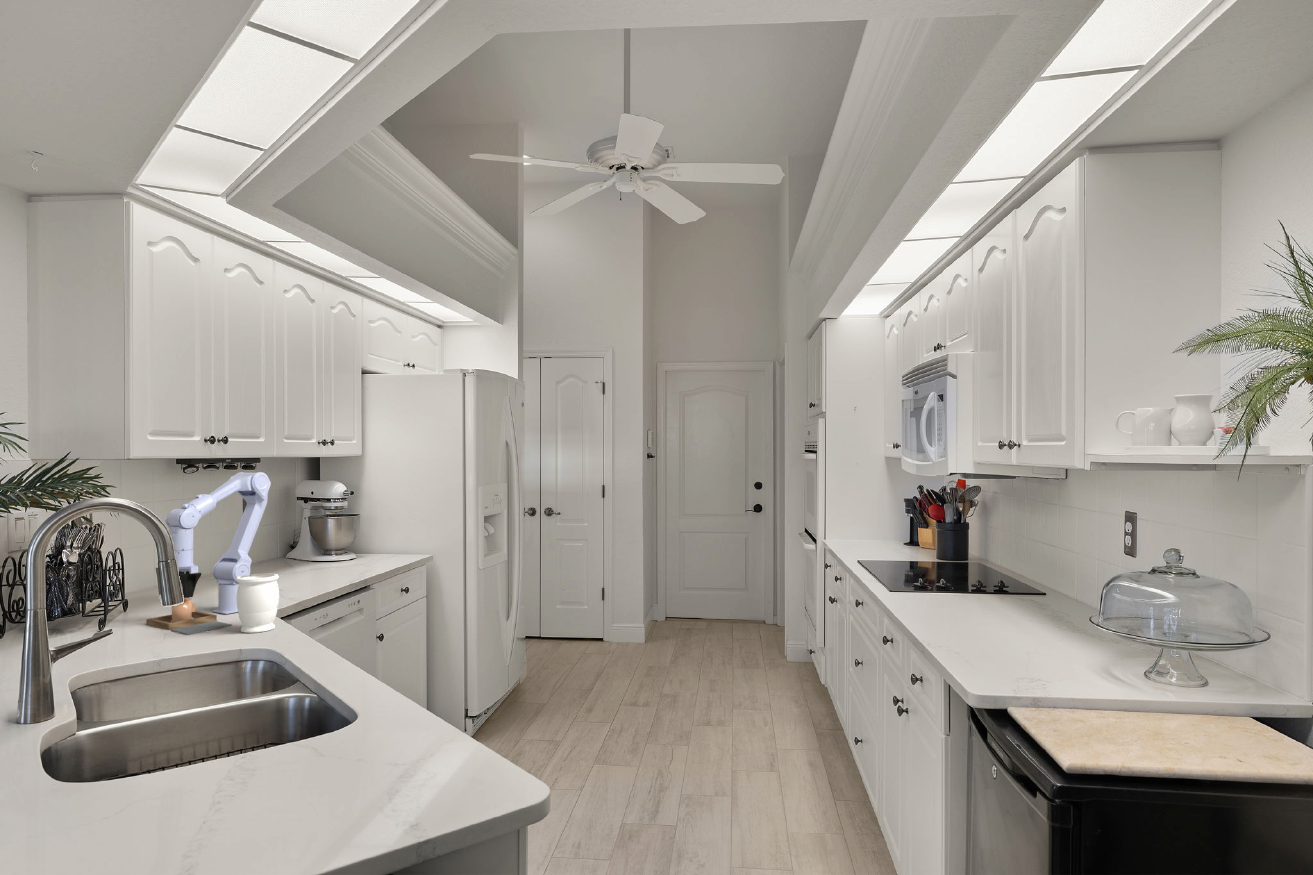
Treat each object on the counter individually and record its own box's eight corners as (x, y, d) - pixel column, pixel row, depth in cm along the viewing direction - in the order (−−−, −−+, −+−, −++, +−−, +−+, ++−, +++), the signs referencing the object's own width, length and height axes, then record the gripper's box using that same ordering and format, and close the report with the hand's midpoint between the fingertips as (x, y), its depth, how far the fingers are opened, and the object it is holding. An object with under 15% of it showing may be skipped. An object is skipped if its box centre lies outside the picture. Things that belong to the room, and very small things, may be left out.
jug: (176, 625, 213) (176, 600, 213) (168, 623, 216) (168, 599, 216) (199, 621, 218) (199, 597, 218) (190, 619, 221) (190, 595, 221)
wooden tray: (193, 615, 225) (193, 610, 225) (216, 620, 219) (216, 615, 219) (146, 624, 214) (146, 618, 214) (168, 629, 208) (168, 624, 208)
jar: (227, 633, 203) (227, 578, 203) (257, 624, 213) (257, 572, 213) (258, 635, 200) (258, 579, 200) (287, 626, 210) (287, 573, 210)
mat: (215, 622, 216) (215, 620, 216) (231, 625, 212) (231, 624, 212) (170, 631, 206) (170, 629, 206) (187, 634, 201) (187, 633, 201)
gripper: (154, 549, 217) (154, 596, 217) (179, 552, 210) (179, 600, 209) (180, 547, 223) (180, 592, 223) (205, 550, 216) (205, 596, 215)
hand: (181, 596), depth 217 cm, fingers open, 7 cm apart
